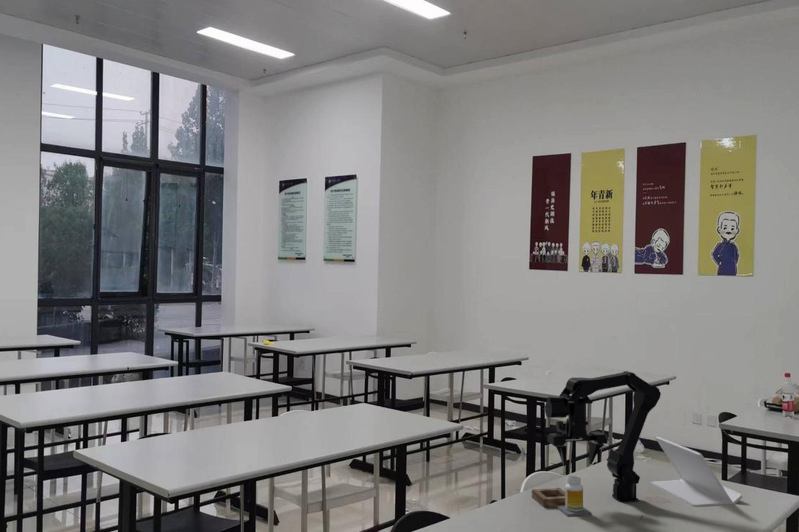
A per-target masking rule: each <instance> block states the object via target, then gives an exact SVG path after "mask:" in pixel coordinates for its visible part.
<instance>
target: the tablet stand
mask: <svg viewBox="0 0 799 532" xmlns="http://www.w3.org/2000/svg"><path fill="white" fill-rule="evenodd" d="M655 440H656V441H657V442H658V444H659V446H660V448H661V449H662V451H663V452H664V454H665V455H666V456H667V459H668V460H669V461H670V463H671V465H672V466H673V467H674V469H675V471H676V472H677V474H678V475H679V477H680V478H679V479H673V480H658V481H657V480H656V481H655V480H654V481H650V484H651V485H652V486H654V487H657V488H658V489H659V490H662V491H663V492H666V493H668V494H669V495H672V496H673V497H675V498H677V499H679V500H680V501H682V502H685V503H686V504H689V505H691V506H692V507H709V506H723V505H735V504H737V503H738V502H740V500H742V499H743V495H742V494H741V493H740V492H737V491H735V490H733V489H732V488H731V489H730V488H729V487H726V486H724V485H722V483H721V481H720V480H719V478H718V477H717V476H716V474H715V473H714V471H713V469H712V468H711V466H710V465H709V463H708V462H707V460H706V459H705V457H704V456H703V454H702V453H700V452H698V451H696V450H693V449H691V448H688V447H686V446H684V445H680V444H677V443H675V442H673V441H671V440H668V439H666V438H663V437H660V436H659V435H658V436H656V437H655Z"/></svg>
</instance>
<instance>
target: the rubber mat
mask: <svg viewBox="0 0 799 532" xmlns="http://www.w3.org/2000/svg"><path fill="white" fill-rule="evenodd" d="M556 508H557V509H558V511H560V512H561V513H563V514H564V515H566V517H577V516H579V515H580V516H591V515H593V514H592V513H593V512H591V511H590V510H589V509H587V508H586V507H585V506H583V510H582V511H578V512H574V511H570V510H567V509H566V507H565V505H559V506H556Z"/></svg>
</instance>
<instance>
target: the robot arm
mask: <svg viewBox="0 0 799 532" xmlns="http://www.w3.org/2000/svg"><path fill="white" fill-rule="evenodd" d="M622 386H623V387H624V386H627V387H628V388H629V389H630V390H631V391H632V392H633V398H632V400H633V409H632V411H631V413H630V416H629V419H628V421H627V425H626V427H625V429H624V433H623V435H622V437H621V441H620V443H619V446H618V447H617V448H616V449H615V450H614V449H610V450H609V455H608V457H607V459H606V461H607V463H606V468H607V470H608V471H609V472H610V473H611V475H612V477H613V479H614V483H613V484H612V489H613V490H612V494H611V496H612V497H613V498H614V499H616V500H618V502H621V503H629V502H631V503H632V502H640V499H639V498H637V484H639V483H640V479H641V477H640V475H639V474H637V473H636V472H635V470H634V466H635V455H634V453H635V449H636V447H637V445H638V442H639V439H640V437H641V434H642V431H643V428H644V425H645V422H646V419H647V417H648V415H649V413H650V412H651V411H652V410H653V409H654V408H655V407H656V406H657V404H658V402H659V400H660V399H661V395H662V394H661V391H660V389H659V387H658V386H657V385H653V384H650V383H648V382H647V381H645V380H644V379H642V378H640V377H639V376H638V375H637V374H635V372H631V371H625V370H624V371H623V372H618V373H613V374H607V375H603V376H601V375H600V376H597V377H596V376H595V377H571V378H569V379H567V381H566V383H565V387H564V388H563V390H562V391H561V393H560V394H559V395H558V396H547V400H546V402H545V405H544V412H545V416H546V418H548V419H557V418H558V419H559V418H561V419H563V418H566V417H567V416H568V418H566V421H565V422H564V421H563V420H557V421H556V422H555V429H556V431H557V432H554V433H549V434H548V435H547V440H546V441H547V443H549V444H551V446H554V447H555V448H556V450H557V451H558V454H559V456H560V457H559V458H560V460H561V463H562V465H563V466H564V467H565V466H566V465H567V446H566V445H565V444H566V443H568V442H570V443H571V442H572V443H573V442H588V443H587V444H588V464H589V465H593V463H594V460H595V459H596V456H597V455H598V453H599V451H600V449H601V447H605V446H604V445H605V444H606V445H607V444H608V441H609V440H608V435H607V434H605V433H603V432H601V431H589V432H588V433H587V426H588V425H589V421H587V404H589V405H590V404H594V401H593V400H591V398H589V396H591V395H592V394H594V393H595V392H598V391H602V390H607V389H612V388H617V387H622ZM560 432H561V433H560Z"/></svg>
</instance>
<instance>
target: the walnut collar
mask: <svg viewBox="0 0 799 532" xmlns="http://www.w3.org/2000/svg"><path fill="white" fill-rule="evenodd" d="M531 498H532V499H533V500H534V501H536V502H537V503H538V504H539V505H541V507H542V508H553V506H555V507H557V506H559V505H565V490H563V488H560V487H554V488H537V489H535V488H534V489H533V488H532V489H531Z"/></svg>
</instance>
